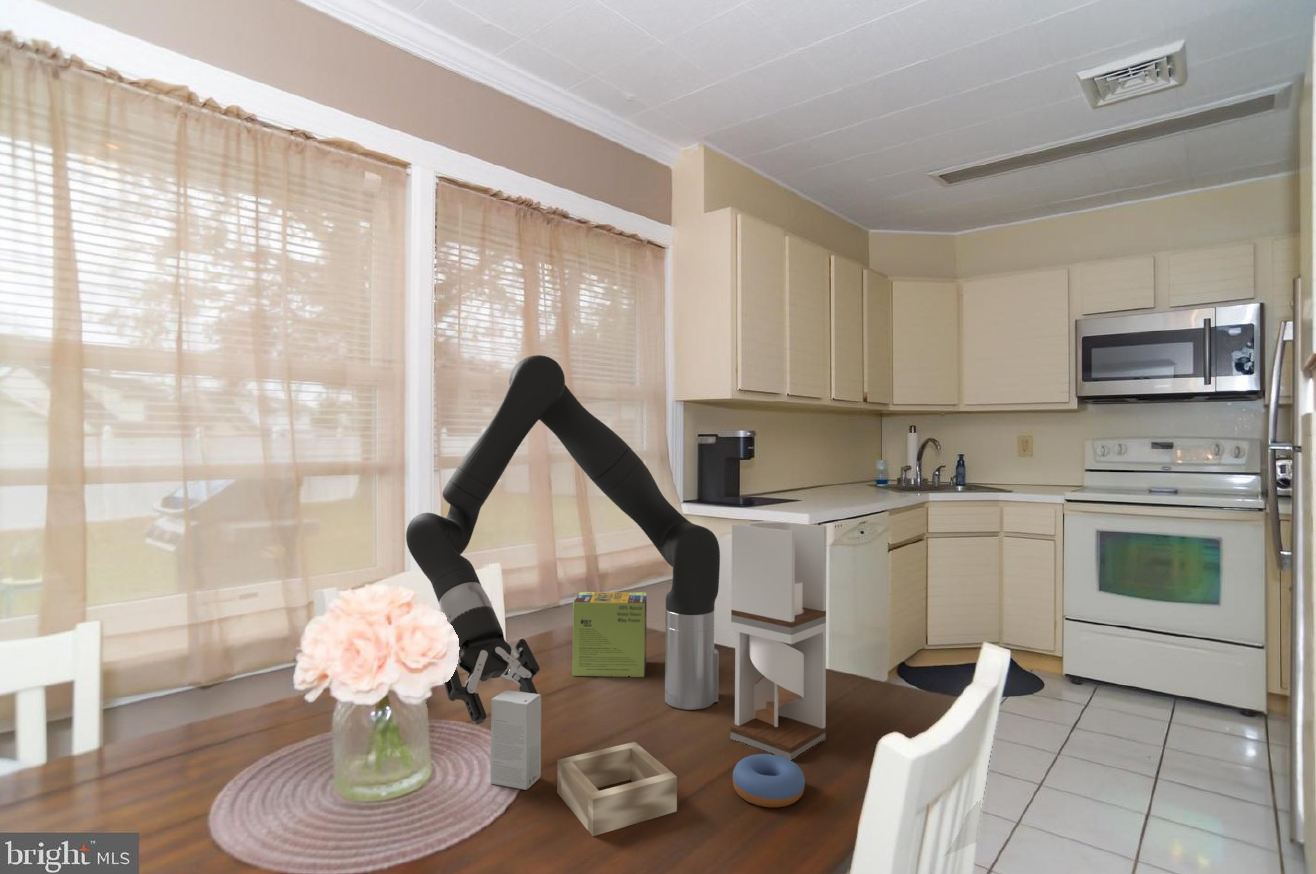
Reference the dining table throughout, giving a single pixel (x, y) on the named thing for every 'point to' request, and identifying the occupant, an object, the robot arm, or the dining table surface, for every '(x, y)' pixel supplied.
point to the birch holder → (622, 803)
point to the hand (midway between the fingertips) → (508, 713)
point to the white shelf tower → (779, 635)
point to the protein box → (609, 634)
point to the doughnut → (768, 780)
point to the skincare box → (515, 739)
